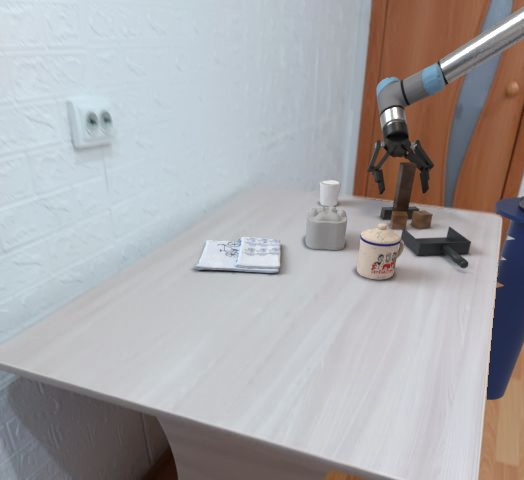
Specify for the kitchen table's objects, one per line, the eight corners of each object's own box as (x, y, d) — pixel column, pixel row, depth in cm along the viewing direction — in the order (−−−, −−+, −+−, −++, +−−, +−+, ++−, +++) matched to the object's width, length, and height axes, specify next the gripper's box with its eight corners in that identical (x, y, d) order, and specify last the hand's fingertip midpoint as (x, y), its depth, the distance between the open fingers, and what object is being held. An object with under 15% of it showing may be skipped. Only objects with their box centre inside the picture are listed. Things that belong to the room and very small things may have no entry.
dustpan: (400, 240, 132) (402, 228, 130) (447, 238, 133) (450, 226, 132) (436, 274, 113) (440, 261, 111) (490, 271, 115) (494, 258, 113)
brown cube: (403, 225, 142) (406, 211, 140) (405, 229, 139) (408, 215, 137) (390, 224, 142) (392, 210, 140) (391, 228, 139) (393, 215, 137)
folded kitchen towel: (279, 274, 111) (280, 266, 110) (193, 271, 112) (192, 262, 110) (281, 244, 127) (281, 236, 126) (205, 241, 128) (205, 233, 126)
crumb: (422, 223, 144) (424, 210, 141) (429, 227, 141) (432, 214, 138) (410, 224, 143) (413, 211, 140) (418, 228, 139) (421, 215, 137)
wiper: (413, 215, 150) (424, 162, 141) (417, 218, 147) (428, 164, 138) (380, 216, 148) (388, 162, 139) (383, 219, 146) (392, 164, 137)
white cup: (325, 207, 155) (327, 185, 151) (314, 202, 160) (315, 180, 156) (343, 205, 157) (345, 183, 153) (331, 199, 162) (333, 178, 158)
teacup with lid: (371, 283, 108) (379, 233, 102) (347, 268, 115) (353, 220, 108) (412, 274, 113) (422, 225, 106) (386, 260, 119) (394, 214, 113)
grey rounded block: (305, 248, 125) (308, 216, 120) (304, 231, 136) (307, 200, 131) (345, 250, 124) (349, 217, 120) (341, 233, 135) (345, 202, 130)
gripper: (427, 135, 152) (437, 197, 148) (351, 136, 148) (359, 198, 144) (438, 120, 144) (449, 184, 140) (359, 119, 141) (368, 185, 137)
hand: (404, 191), depth 142 cm, fingers open, 13 cm apart
